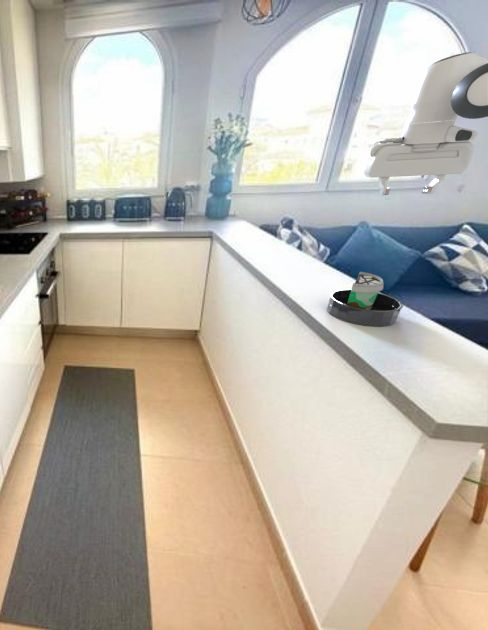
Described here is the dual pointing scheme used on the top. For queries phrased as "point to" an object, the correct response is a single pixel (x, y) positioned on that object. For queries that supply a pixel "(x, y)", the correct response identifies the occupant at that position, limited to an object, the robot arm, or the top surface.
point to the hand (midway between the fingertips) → (405, 194)
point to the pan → (378, 316)
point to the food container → (365, 291)
